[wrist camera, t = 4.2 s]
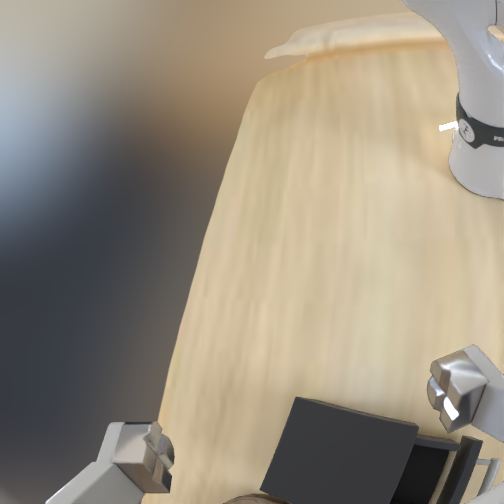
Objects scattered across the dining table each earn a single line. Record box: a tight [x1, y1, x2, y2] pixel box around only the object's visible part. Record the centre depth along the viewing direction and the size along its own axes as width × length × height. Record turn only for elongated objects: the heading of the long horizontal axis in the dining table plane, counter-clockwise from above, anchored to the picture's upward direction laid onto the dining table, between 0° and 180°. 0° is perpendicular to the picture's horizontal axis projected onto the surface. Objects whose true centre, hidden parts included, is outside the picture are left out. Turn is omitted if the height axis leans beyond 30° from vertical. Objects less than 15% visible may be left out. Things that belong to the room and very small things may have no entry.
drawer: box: [389, 434, 501, 504], centre depth 26 cm, size 18×11×7 cm, turn 68°
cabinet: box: [260, 397, 419, 504], centre depth 32 cm, size 15×13×9 cm
